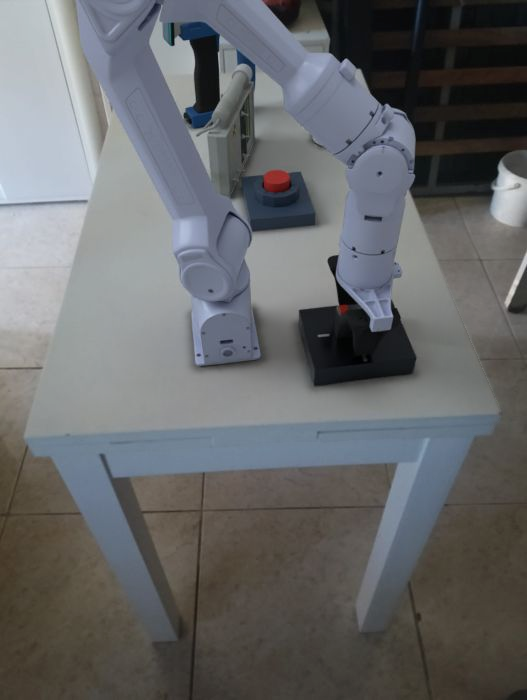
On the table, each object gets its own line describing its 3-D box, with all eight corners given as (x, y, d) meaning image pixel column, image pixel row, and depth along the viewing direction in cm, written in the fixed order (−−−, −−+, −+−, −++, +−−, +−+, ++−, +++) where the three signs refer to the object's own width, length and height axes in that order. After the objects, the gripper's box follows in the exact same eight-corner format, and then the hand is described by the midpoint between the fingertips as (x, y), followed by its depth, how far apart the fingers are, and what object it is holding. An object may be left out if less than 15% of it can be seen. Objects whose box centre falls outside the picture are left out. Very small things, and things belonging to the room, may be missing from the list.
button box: (314, 225, 88) (316, 203, 85) (250, 231, 87) (249, 209, 84) (300, 183, 96) (301, 161, 93) (241, 188, 95) (240, 167, 92)
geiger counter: (231, 117, 82) (265, 50, 99) (189, 113, 83) (230, 47, 100) (236, 200, 93) (266, 127, 109) (198, 196, 94) (234, 124, 110)
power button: (291, 192, 88) (291, 182, 86) (265, 195, 87) (265, 184, 86) (287, 178, 90) (287, 168, 89) (262, 180, 90) (262, 170, 89)
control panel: (388, 315, 75) (392, 298, 72) (412, 374, 68) (417, 356, 66) (298, 326, 74) (298, 308, 71) (313, 386, 67) (314, 369, 65)
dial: (374, 325, 69) (378, 299, 66) (377, 334, 68) (382, 308, 65) (333, 330, 69) (336, 304, 66) (336, 339, 68) (339, 313, 65)
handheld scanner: (173, 121, 111) (158, 10, 96) (248, 104, 116) (245, -5, 101) (180, 131, 109) (167, 19, 94) (257, 114, 113) (256, 3, 98)
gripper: (431, 279, 54) (407, 372, 64) (387, 194, 63) (371, 286, 73) (358, 288, 53) (345, 379, 63) (325, 200, 63) (318, 292, 73)
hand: (355, 330), depth 68 cm, fingers open, 7 cm apart
